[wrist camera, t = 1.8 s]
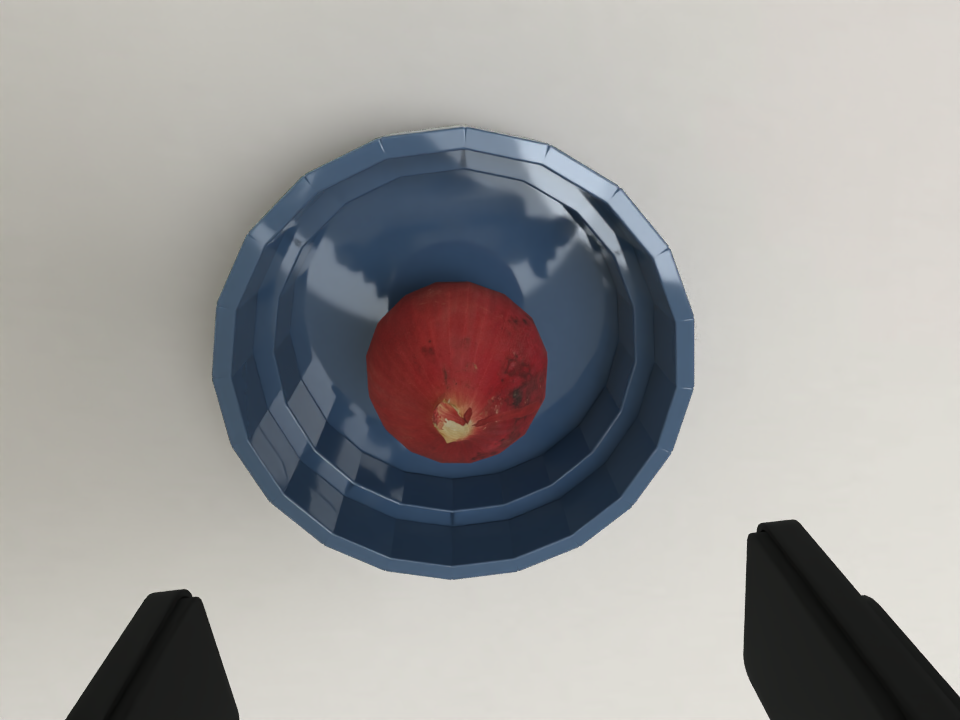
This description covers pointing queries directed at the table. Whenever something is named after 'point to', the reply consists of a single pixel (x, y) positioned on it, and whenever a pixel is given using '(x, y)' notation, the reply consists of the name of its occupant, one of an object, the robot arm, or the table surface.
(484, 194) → the bowl
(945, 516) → the table surface
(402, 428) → the pomegranate
